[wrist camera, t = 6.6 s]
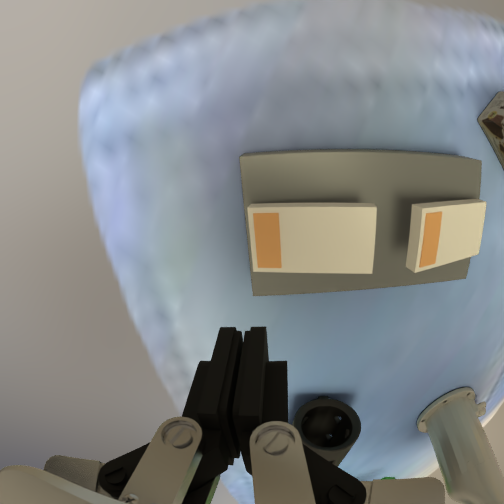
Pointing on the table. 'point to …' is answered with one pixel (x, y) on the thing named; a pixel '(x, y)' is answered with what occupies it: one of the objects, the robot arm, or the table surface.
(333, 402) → the muzzle brake
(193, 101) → the table surface
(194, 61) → the table surface
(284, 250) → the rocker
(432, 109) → the table surface
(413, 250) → the block
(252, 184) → the switch block
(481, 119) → the coffee box
